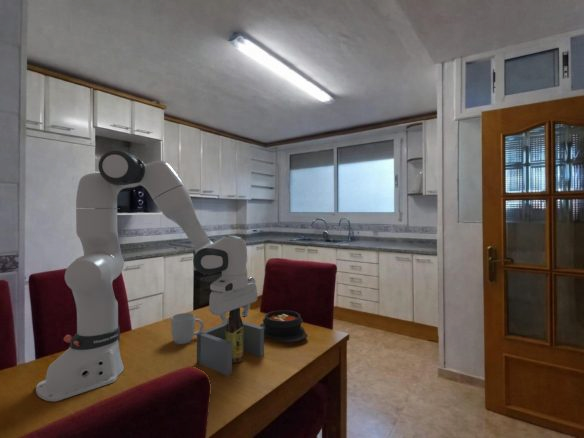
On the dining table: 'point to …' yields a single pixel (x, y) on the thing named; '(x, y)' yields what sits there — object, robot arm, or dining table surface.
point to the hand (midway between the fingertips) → (235, 320)
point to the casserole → (284, 326)
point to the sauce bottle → (235, 334)
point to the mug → (184, 327)
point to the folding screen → (227, 346)
